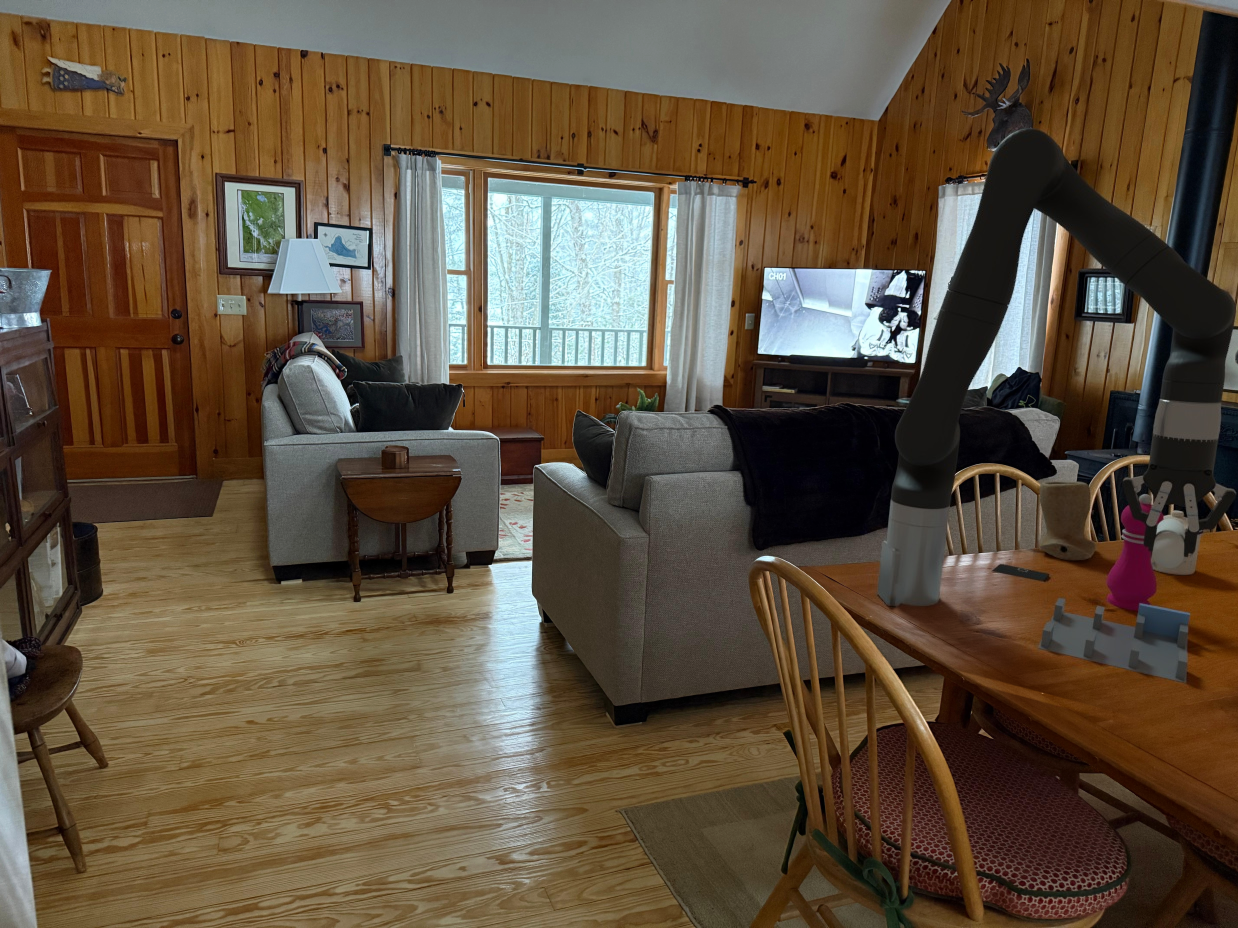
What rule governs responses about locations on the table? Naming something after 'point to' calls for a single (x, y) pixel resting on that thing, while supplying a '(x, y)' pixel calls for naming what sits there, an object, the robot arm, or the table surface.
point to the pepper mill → (1133, 564)
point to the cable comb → (1123, 640)
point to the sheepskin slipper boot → (1066, 519)
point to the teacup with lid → (1188, 562)
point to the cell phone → (1021, 572)
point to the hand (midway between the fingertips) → (1168, 552)
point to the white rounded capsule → (1169, 543)
